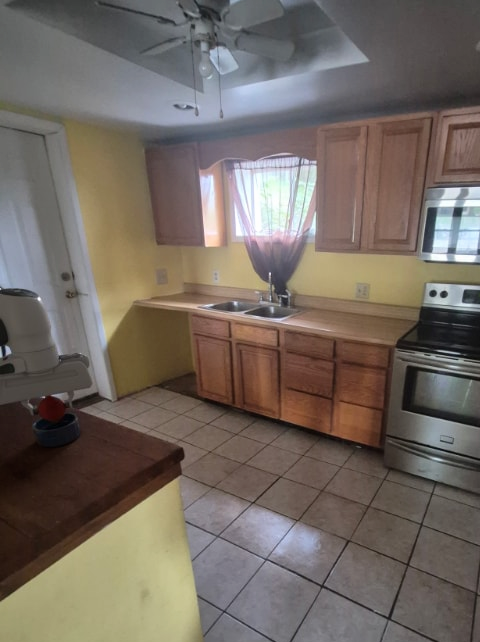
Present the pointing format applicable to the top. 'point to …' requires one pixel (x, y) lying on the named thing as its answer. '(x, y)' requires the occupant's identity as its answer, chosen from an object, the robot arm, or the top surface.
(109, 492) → the top surface
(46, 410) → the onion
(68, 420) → the bowl
